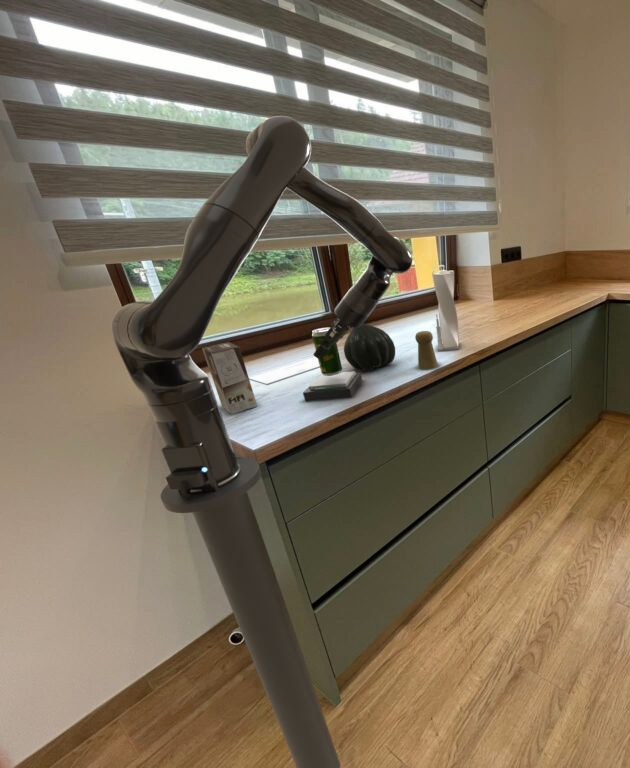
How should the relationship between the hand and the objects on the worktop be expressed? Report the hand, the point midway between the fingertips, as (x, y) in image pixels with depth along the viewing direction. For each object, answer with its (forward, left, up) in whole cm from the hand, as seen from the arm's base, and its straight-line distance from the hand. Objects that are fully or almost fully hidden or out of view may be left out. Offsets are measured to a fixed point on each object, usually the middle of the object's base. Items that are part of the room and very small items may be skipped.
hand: (320, 353), depth 113 cm
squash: (+19, -8, -11) cm, 23 cm away
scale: (0, -2, -11) cm, 11 cm away
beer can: (0, -2, -6) cm, 6 cm away
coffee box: (-6, +21, -11) cm, 25 cm away
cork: (+15, -26, -11) cm, 32 cm away
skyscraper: (+35, -32, -11) cm, 48 cm away
